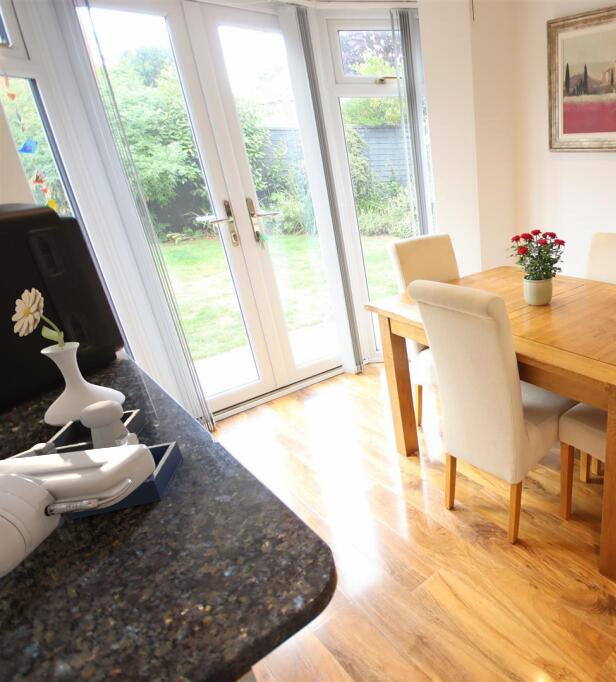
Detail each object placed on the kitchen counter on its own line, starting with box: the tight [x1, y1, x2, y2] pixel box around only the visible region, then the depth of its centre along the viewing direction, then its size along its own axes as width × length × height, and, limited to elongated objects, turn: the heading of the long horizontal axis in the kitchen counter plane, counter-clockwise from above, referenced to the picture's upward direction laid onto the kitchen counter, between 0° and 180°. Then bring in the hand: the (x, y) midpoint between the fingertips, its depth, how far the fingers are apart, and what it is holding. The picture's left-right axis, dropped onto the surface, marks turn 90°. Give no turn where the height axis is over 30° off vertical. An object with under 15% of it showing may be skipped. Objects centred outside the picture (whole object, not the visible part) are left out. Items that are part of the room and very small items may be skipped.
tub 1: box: [46, 408, 147, 454], centre depth 75 cm, size 10×10×3 cm
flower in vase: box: [11, 287, 126, 427], centre depth 80 cm, size 13×11×25 cm
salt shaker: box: [80, 400, 150, 479], centre depth 63 cm, size 6×6×13 cm
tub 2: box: [68, 441, 184, 520], centre depth 65 cm, size 10×10×3 cm
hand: (90, 442), depth 59 cm, fingers open, 8 cm apart
